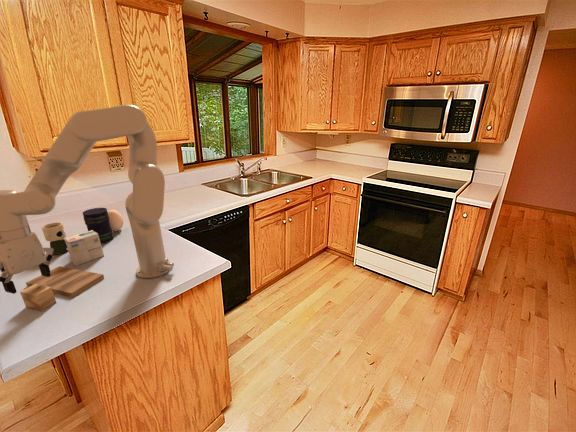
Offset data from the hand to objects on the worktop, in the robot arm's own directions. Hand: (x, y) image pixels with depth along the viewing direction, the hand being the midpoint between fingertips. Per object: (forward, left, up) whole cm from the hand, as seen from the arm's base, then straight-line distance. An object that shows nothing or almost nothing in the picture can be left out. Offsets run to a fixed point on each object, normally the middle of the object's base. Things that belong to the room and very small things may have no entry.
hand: (30, 283), depth 89 cm
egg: (+27, -56, -9) cm, 62 cm away
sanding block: (0, -1, -8) cm, 8 cm away
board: (+5, -13, -8) cm, 16 cm away
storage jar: (+24, -45, -9) cm, 51 cm away
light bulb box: (+14, -29, -9) cm, 33 cm away
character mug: (+31, -30, -9) cm, 43 cm away
